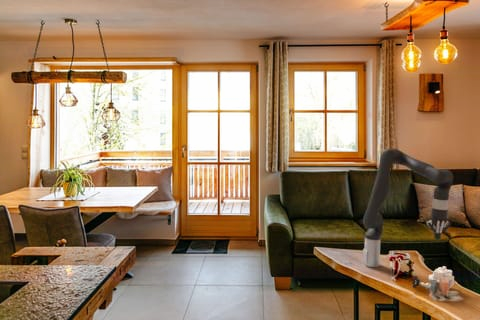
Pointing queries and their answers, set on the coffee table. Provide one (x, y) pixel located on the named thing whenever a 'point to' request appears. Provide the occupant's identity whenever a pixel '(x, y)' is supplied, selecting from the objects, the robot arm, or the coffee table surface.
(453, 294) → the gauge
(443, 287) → the carriage
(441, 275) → the mechanical part
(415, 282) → the valve
